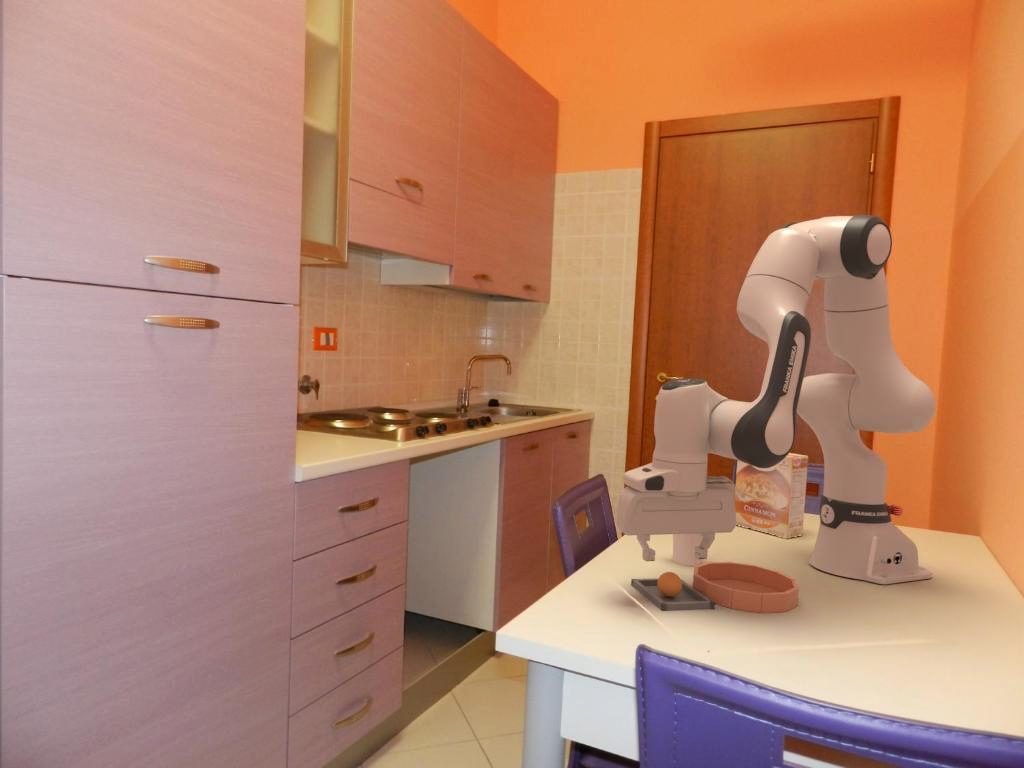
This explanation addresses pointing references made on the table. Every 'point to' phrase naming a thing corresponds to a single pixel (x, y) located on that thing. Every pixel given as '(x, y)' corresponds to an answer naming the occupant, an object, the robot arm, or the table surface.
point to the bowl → (746, 587)
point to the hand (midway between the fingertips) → (674, 559)
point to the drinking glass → (686, 549)
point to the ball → (669, 584)
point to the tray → (682, 601)
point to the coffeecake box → (772, 496)
